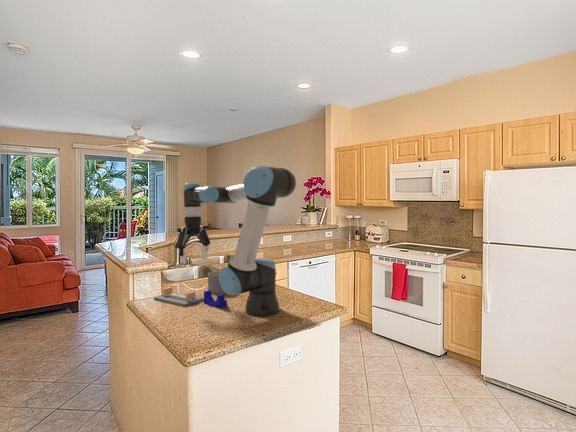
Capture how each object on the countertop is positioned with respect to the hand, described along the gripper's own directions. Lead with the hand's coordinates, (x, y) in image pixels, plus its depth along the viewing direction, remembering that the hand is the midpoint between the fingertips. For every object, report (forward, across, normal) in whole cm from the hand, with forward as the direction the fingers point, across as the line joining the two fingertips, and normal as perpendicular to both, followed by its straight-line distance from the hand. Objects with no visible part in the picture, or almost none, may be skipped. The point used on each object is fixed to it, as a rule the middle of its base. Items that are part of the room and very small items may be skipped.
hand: (194, 261), depth 167 cm
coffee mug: (+20, -23, -7) cm, 32 cm away
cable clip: (+21, -4, +9) cm, 23 cm away
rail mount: (+20, 0, -12) cm, 23 cm away
